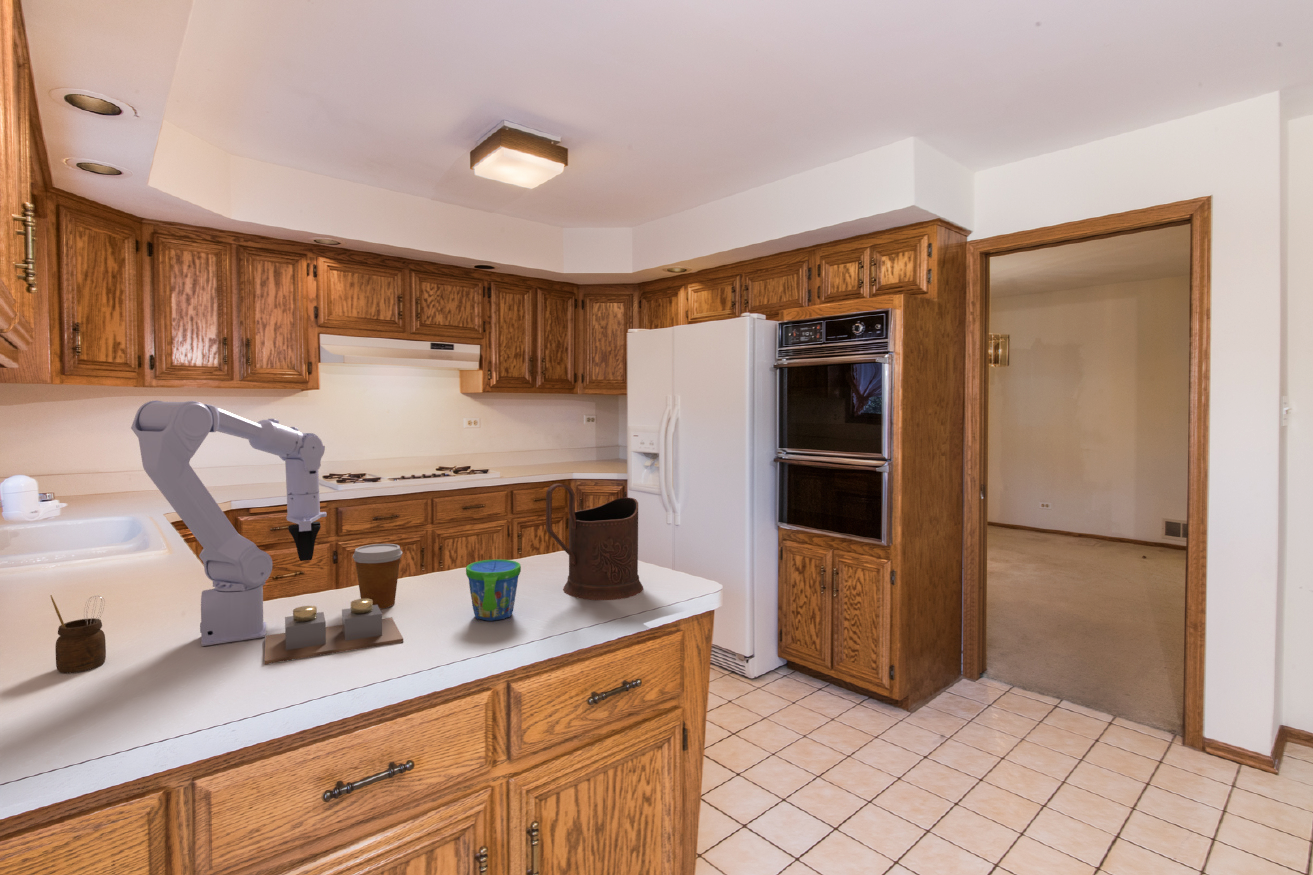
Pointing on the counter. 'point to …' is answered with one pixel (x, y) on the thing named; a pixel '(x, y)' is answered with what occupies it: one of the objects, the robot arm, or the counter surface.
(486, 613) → the snack cup
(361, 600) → the brass round knob
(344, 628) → the twin gray blocks
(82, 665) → the utensil holder
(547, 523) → the cup holder
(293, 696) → the counter surface
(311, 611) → the left plunger
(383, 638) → the walnut board
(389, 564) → the disposable coffee cup
